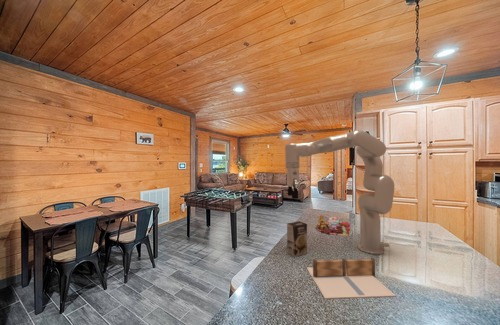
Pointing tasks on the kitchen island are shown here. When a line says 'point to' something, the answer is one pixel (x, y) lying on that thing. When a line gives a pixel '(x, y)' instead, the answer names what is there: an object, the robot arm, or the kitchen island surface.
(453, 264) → the kitchen island surface
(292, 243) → the coffee box
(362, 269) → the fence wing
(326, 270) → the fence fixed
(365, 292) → the card
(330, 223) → the plate of food
